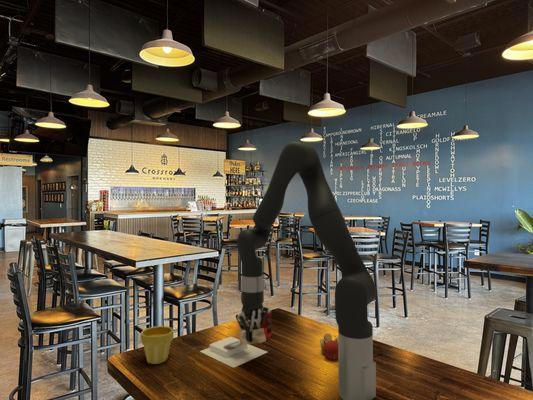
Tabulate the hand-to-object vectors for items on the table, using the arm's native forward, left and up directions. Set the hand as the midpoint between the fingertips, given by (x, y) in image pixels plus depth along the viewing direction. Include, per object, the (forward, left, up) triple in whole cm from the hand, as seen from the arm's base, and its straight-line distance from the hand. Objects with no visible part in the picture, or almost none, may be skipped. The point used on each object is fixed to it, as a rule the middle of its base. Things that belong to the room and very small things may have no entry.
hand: (252, 340), depth 121 cm
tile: (+8, 0, -6) cm, 9 cm away
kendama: (-14, -25, -7) cm, 29 cm away
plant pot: (+25, +21, -7) cm, 33 cm away
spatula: (+3, 0, -2) cm, 3 cm away
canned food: (+13, -17, -7) cm, 22 cm away
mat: (+10, 0, -7) cm, 12 cm away
